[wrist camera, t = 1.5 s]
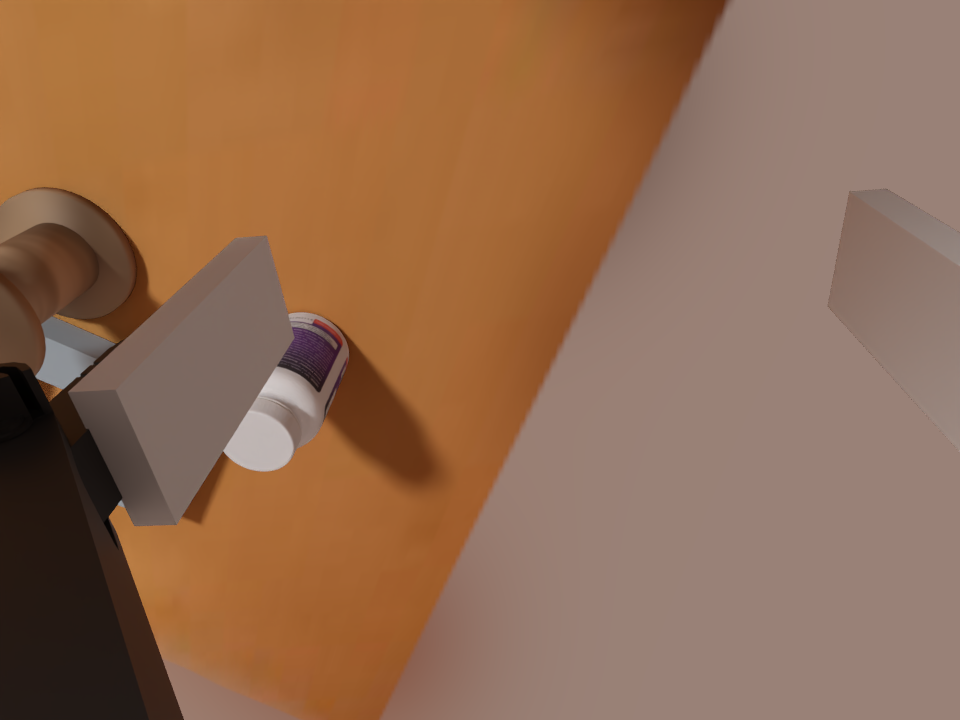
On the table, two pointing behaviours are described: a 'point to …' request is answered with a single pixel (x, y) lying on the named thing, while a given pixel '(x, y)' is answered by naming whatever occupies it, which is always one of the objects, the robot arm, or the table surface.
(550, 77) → the table surface
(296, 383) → the pill bottle
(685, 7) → the table surface
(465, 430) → the table surface
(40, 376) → the notched board
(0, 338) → the bobbin
